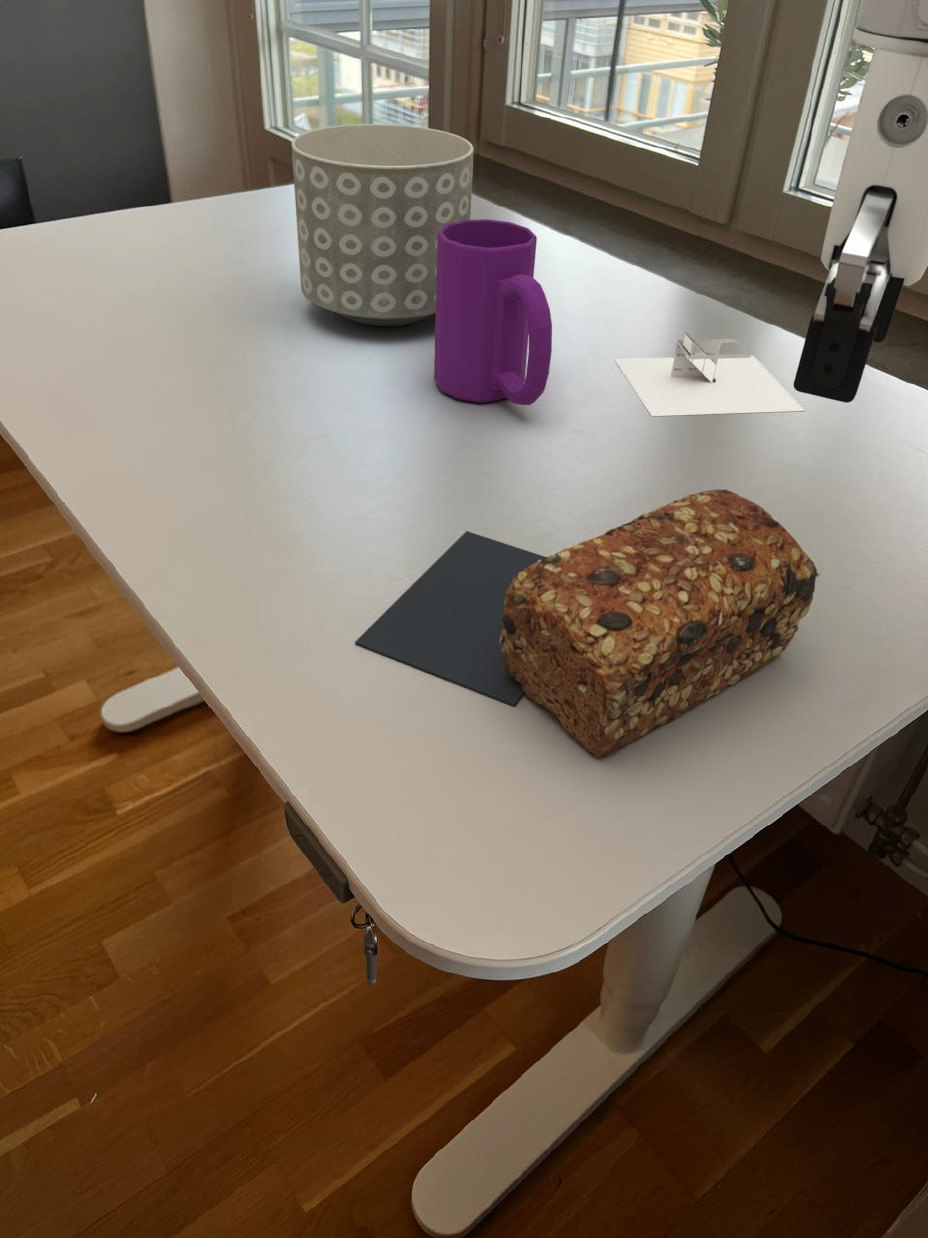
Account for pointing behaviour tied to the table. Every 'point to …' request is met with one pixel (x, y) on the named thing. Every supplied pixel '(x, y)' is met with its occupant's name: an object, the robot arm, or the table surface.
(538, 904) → the table surface
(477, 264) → the mug
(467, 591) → the corner pad
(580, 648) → the bread
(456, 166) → the planter
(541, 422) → the table surface
